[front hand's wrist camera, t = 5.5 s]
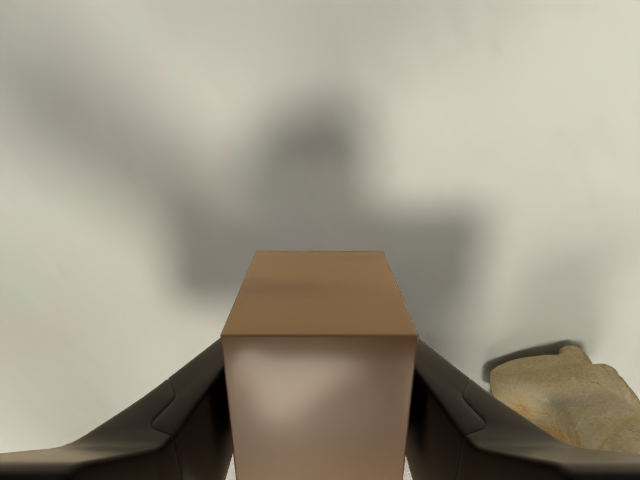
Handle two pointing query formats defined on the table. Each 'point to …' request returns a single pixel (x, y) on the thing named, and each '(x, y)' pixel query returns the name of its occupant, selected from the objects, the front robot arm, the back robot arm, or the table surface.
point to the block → (319, 368)
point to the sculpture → (571, 399)
